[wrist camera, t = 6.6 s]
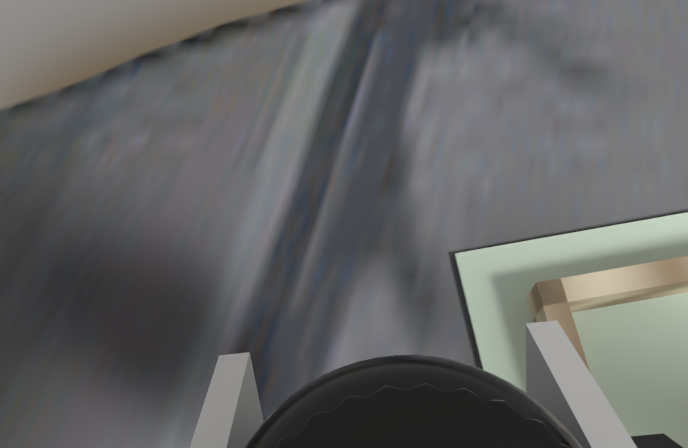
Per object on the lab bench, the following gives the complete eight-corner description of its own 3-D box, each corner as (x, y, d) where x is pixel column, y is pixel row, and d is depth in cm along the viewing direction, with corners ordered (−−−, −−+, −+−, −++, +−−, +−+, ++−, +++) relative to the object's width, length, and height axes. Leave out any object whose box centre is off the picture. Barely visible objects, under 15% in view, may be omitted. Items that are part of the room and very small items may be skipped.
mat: (549, 642, 27) (551, 643, 27) (454, 256, 34) (455, 253, 34) (965, 571, 27) (973, 572, 26) (781, 198, 34) (785, 194, 34)
